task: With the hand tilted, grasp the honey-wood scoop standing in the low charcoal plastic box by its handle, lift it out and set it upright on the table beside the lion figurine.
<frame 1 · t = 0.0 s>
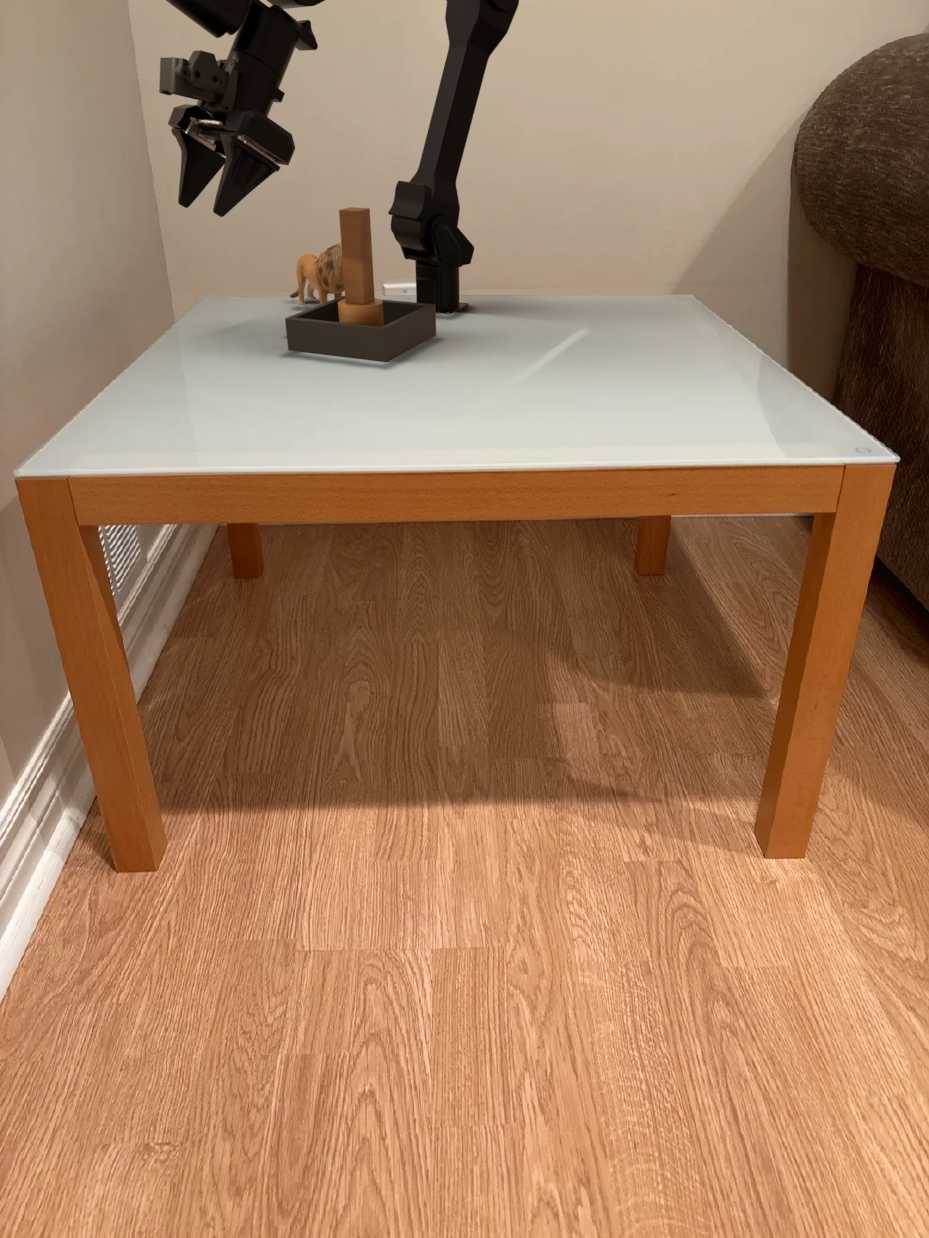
hand: (199, 210, 99), 15 cm above the table, tool tilted 35°, fingers open, 9 cm apart
scoop: (363, 347, 105), point 1 cm above the table, touching box
lion figurine: (326, 311, 123), on the table
box: (364, 347, 107), on the table
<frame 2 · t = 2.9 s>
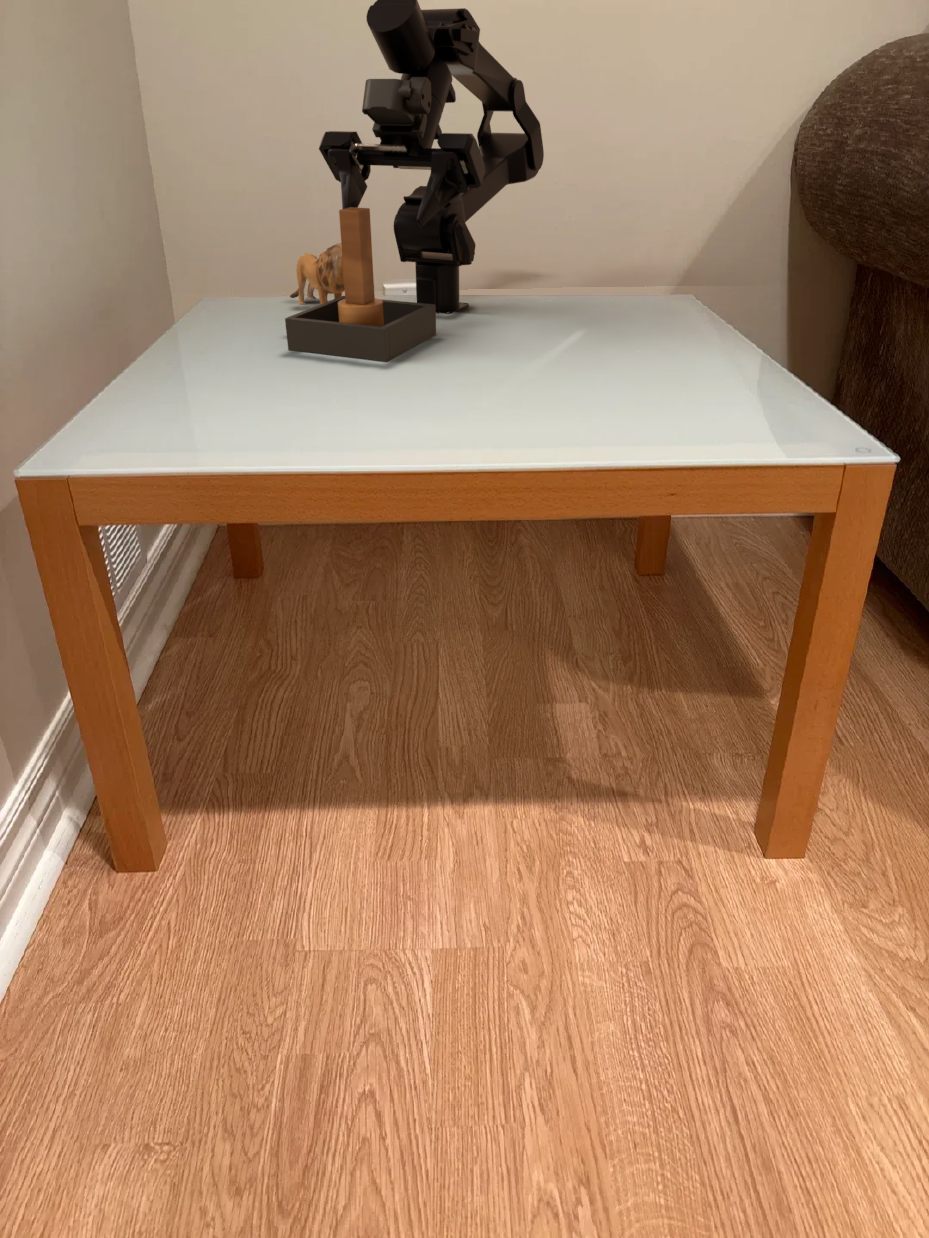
hand: (382, 222, 104), 13 cm above the table, tool tilted 45°, fingers open, 9 cm apart
nothing on the table moved.
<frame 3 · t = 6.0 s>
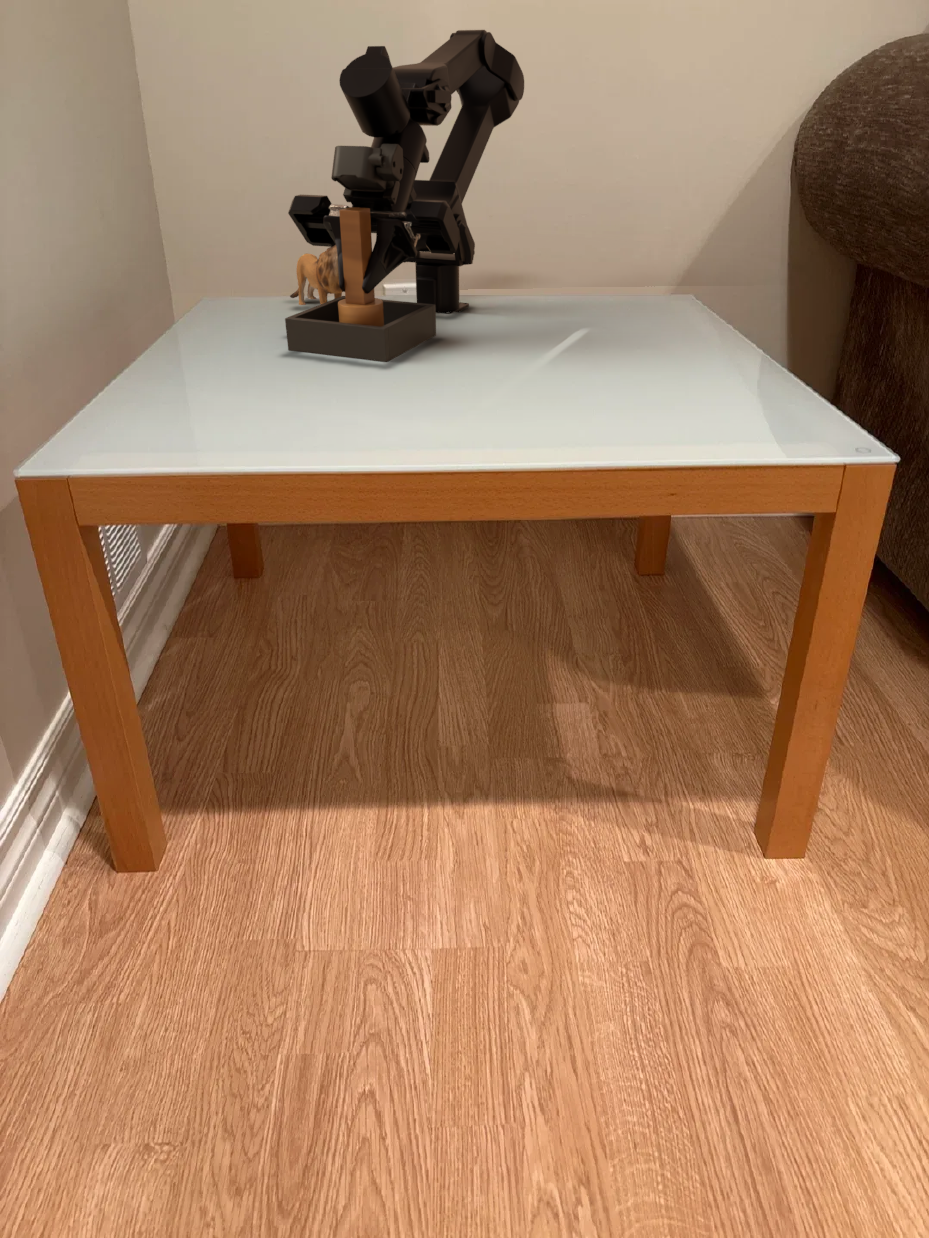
hand: (353, 290, 100), 7 cm above the table, tool tilted 45°, fingers closed on scoop, 2 cm apart
scoop: (363, 347, 105), point 1 cm above the table, touching gripper
everything else where it was.
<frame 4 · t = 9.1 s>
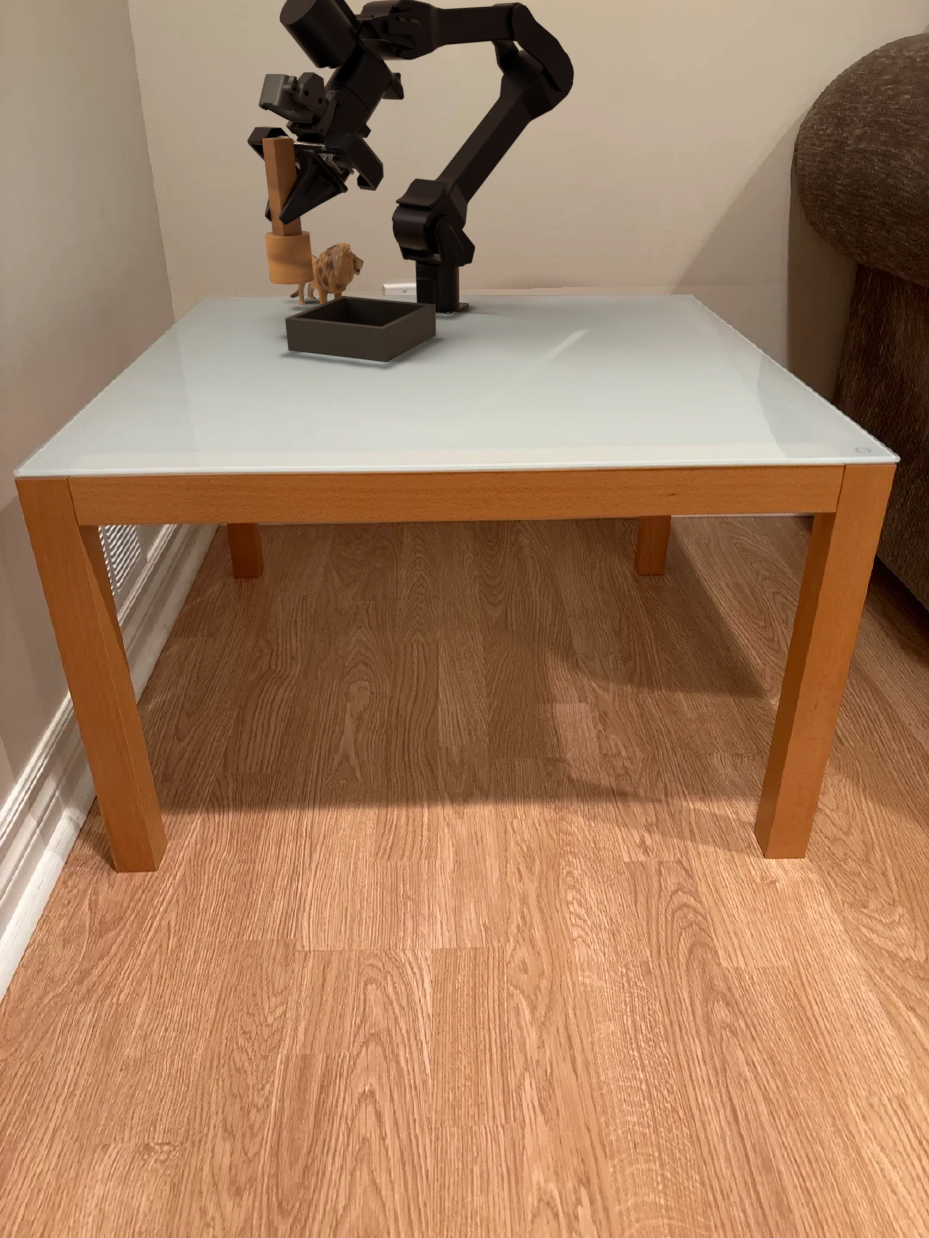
hand: (275, 220, 101), 13 cm above the table, tool tilted 45°, fingers closed on scoop, 2 cm apart
scoop: (292, 280, 106), point 7 cm above the table, touching gripper
everything else where it was.
when the fingers open (6 cm above the table, at t = 12.4 s): scoop stays where it is, on the table.
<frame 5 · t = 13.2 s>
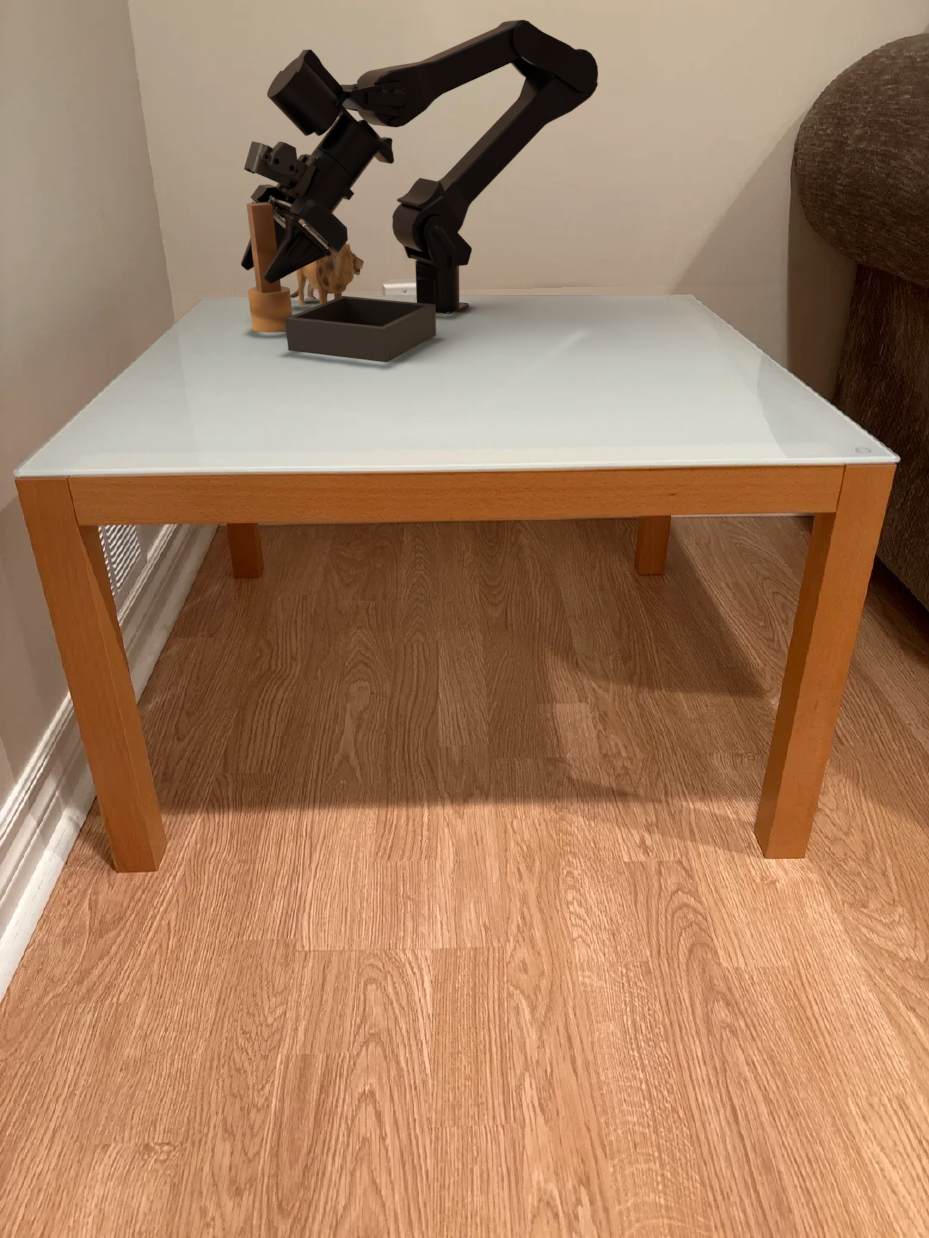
hand: (255, 274, 109), 7 cm above the table, tool tilted 45°, fingers open, 9 cm apart
scoop: (273, 332, 113), on the table
everything else where it was.
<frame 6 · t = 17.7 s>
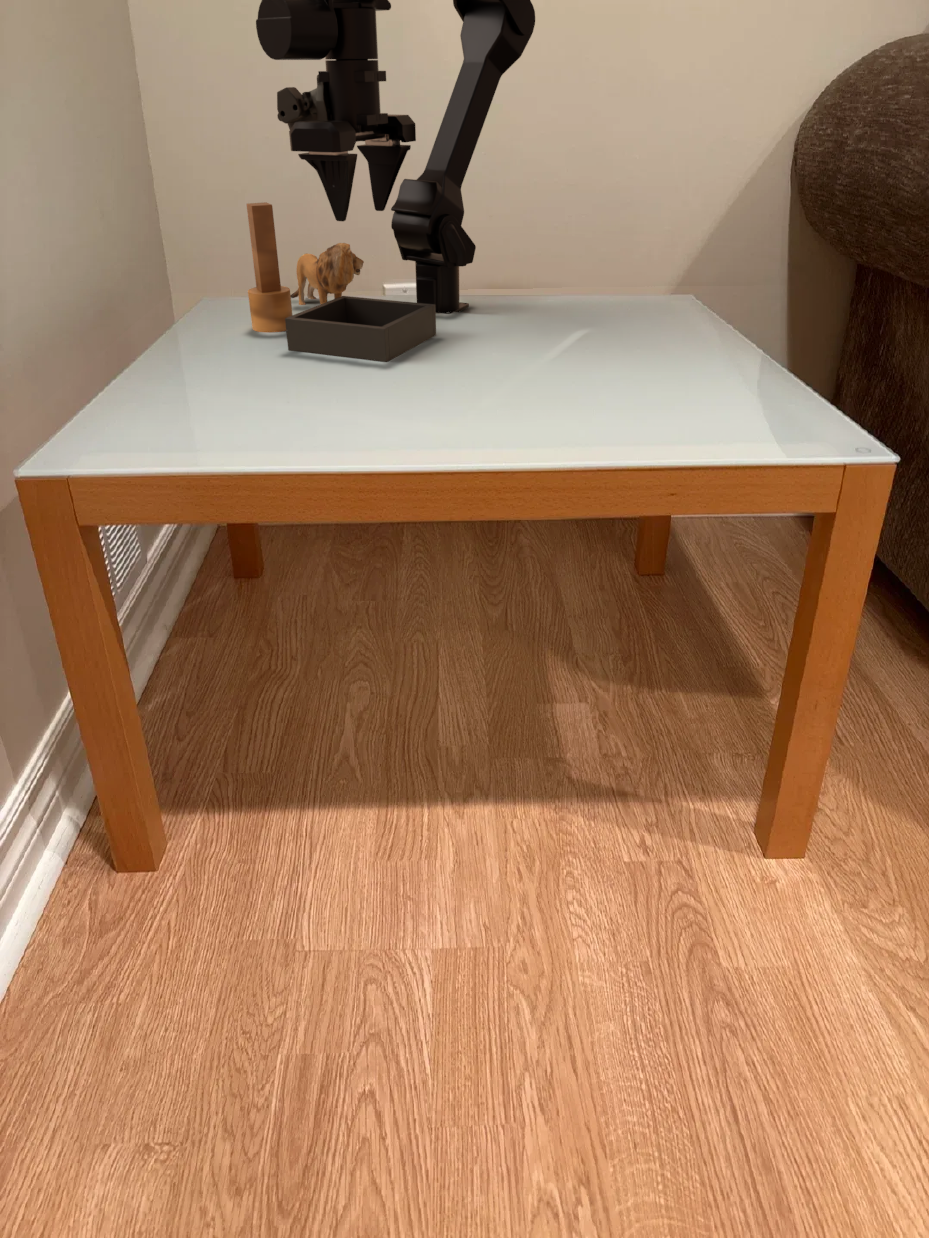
hand: (360, 215, 108), 13 cm above the table, tool pointing down, fingers open, 9 cm apart
nothing on the table moved.
at the end: scoop inside the target area (0.0 cm from its centre), on the table; scoop 12.6 cm from the lion figurine (horizontally); scoop tilted 0° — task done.
